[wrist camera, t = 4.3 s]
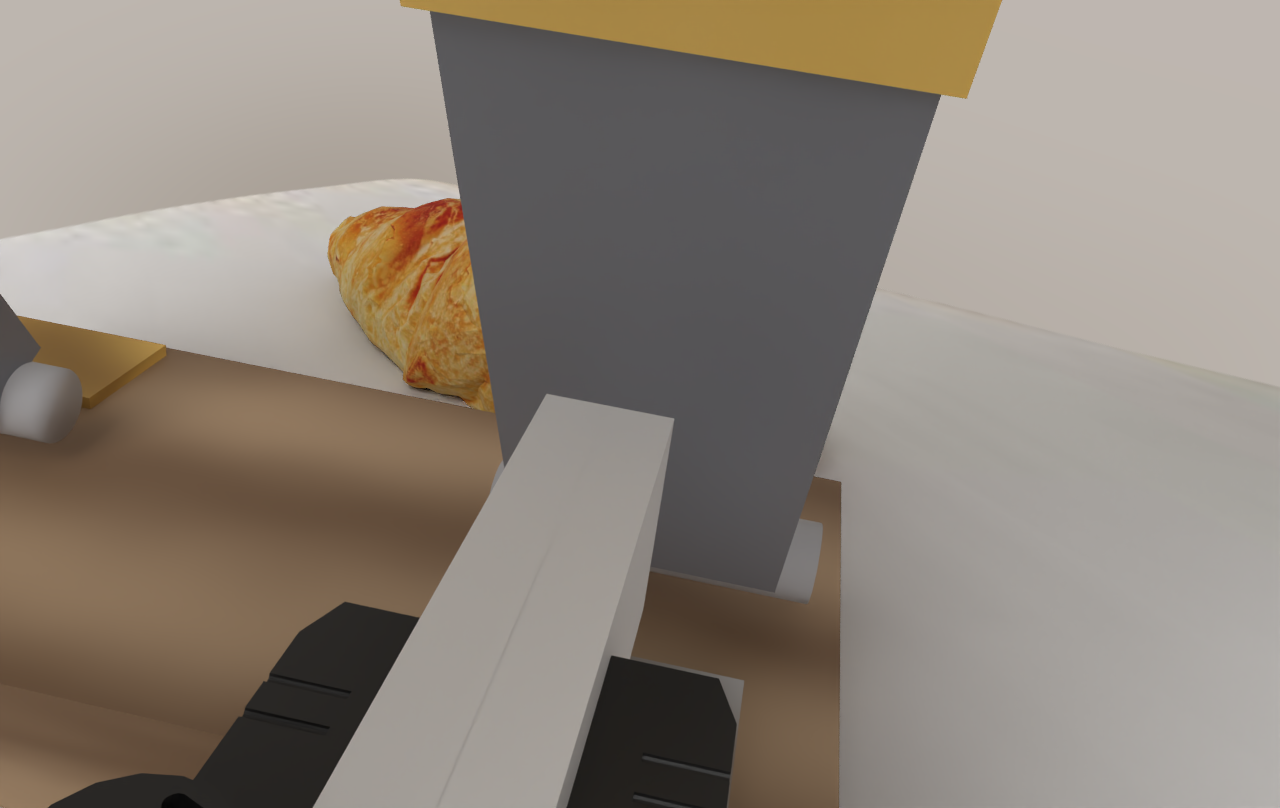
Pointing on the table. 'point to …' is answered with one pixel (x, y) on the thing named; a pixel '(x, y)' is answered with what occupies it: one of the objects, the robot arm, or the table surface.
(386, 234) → the croissant
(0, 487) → the wooden base board
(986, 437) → the table surface
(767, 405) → the lever
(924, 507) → the table surface
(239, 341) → the table surface
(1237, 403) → the table surface
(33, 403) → the lever
